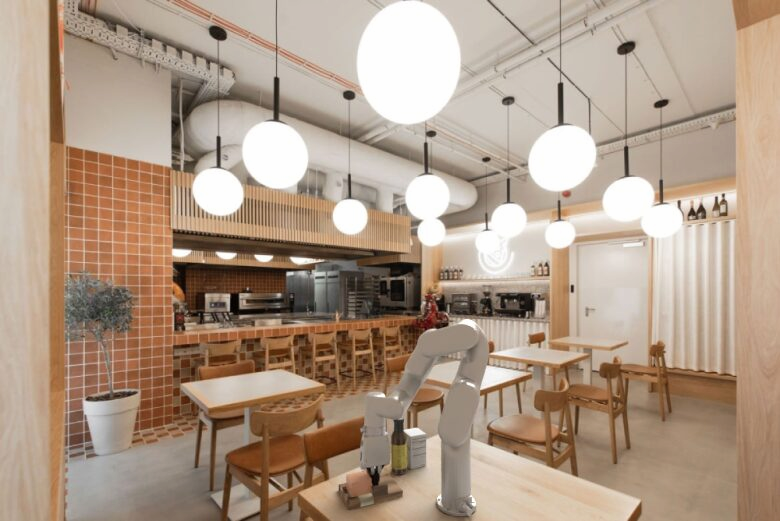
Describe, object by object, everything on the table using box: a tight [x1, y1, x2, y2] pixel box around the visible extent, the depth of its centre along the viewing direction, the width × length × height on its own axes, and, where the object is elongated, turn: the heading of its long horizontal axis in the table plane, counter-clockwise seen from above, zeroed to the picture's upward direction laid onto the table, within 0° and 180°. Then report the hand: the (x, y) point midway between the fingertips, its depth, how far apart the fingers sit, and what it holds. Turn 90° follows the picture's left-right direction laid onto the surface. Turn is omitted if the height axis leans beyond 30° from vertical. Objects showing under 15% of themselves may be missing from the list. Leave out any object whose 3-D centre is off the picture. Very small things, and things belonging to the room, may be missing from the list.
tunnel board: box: [338, 467, 404, 511], centre depth 125 cm, size 12×19×5 cm, turn 113°
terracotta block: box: [345, 470, 372, 498], centre depth 123 cm, size 6×7×4 cm
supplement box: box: [404, 427, 427, 470], centre depth 147 cm, size 7×7×13 cm
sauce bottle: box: [390, 416, 408, 475], centre depth 141 cm, size 6×6×20 cm
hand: (374, 484), depth 126 cm, fingers closed
